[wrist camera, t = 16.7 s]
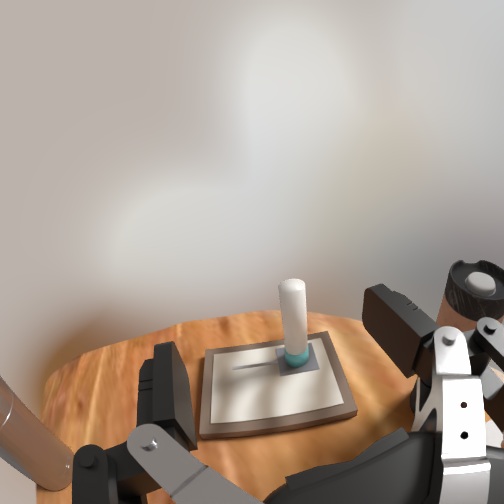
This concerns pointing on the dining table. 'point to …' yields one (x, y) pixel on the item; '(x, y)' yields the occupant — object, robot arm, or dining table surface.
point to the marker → (294, 321)
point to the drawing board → (272, 389)
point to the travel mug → (470, 299)
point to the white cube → (493, 434)
